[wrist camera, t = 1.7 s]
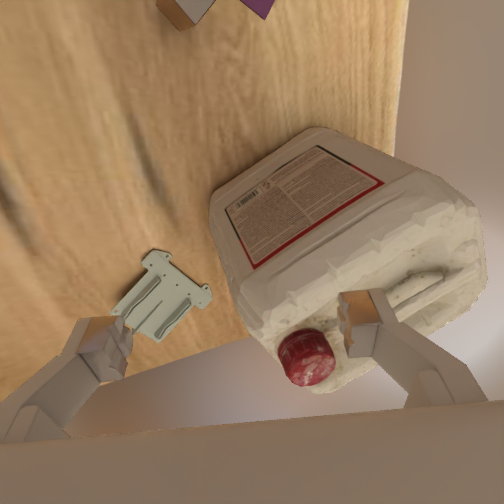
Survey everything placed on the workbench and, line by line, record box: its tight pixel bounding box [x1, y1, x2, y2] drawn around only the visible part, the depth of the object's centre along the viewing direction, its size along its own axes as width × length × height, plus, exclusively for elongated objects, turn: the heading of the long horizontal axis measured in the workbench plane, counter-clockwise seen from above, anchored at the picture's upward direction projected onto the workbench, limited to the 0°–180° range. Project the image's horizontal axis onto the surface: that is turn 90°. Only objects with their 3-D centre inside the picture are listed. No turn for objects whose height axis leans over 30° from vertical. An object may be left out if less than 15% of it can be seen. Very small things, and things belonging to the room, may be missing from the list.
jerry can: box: [208, 127, 488, 394], centre depth 42 cm, size 24×19×30 cm
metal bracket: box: [110, 250, 213, 343], centre depth 57 cm, size 14×6×15 cm
